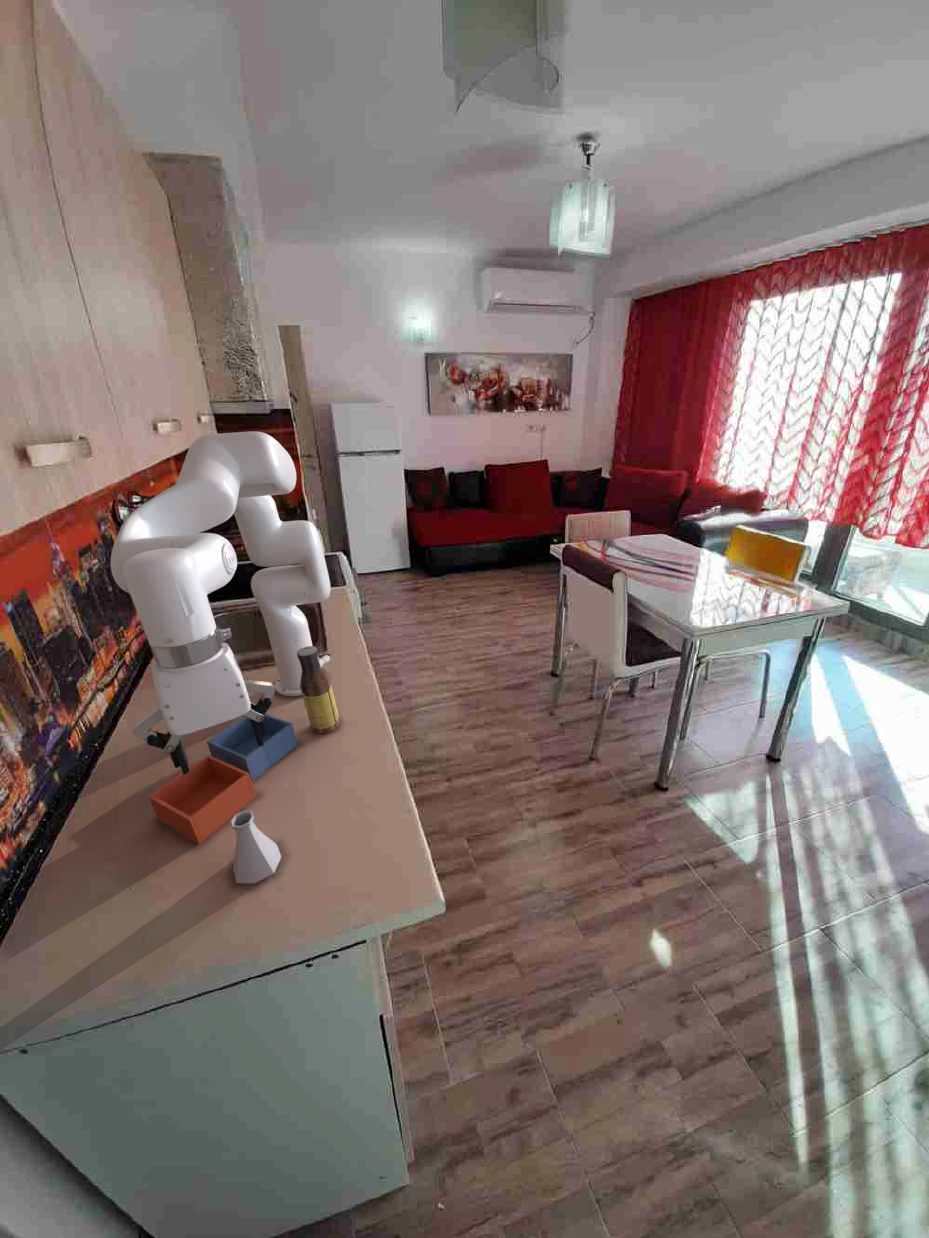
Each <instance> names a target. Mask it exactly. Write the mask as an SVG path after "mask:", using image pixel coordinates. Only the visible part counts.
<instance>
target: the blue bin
mask: <svg viewBox="0 0 929 1238" xmlns="http://www.w3.org/2000/svg"><path fill="white" fill-rule="evenodd" d="M262 721H263V725H264V728H265V732H266V735H267V736H264V737H262V740H263V744H264V745H263V746H261V747H260V746H258V743H257V740H256V737H255V734H254V730H253V727H252V724H251V720H250V718H248V717H245V716H243V717H240V719H238V720H237V721H235V722H233V723H232V724H231V725H229V726H228V727H226V728H225V729H222V731H220V732H218V733H217V734H215V735H214V736H213V737H211V738H210V739H209V740H207V741H206V745H207V747H208V750H209V752H210V756H212V757H215V758H217V759H219V760H221V761H223V762H226V763H228V764H230V765H232V766H234V767H236V768H239V769H241V770H243V771H245V772H247V773H249V774H250V777H251V780H252V782H254V780H256V779H257V778H258V777H259V776H261V775H262V774H264V773H265V772H266V771H268V769H269V768H271V767H272V766H273V765H275V764H276V763H277V762H278V761H279V760H281V759H282V758H283V757H284V756H286V755H287V754H288V753H289V752H290V751H292V750H293V749H294V748H296V747H297V746H298V744H299V743H298V741H297V737H296V733H295V729H294V725H293V723H292V722H290V721H287V720H285V719H281V718H278V717H275V716H273V715H271V714H267V713H265V715H264V719H263V720H262Z"/></svg>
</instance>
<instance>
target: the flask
mask: <svg viewBox="0 0 929 1238" xmlns="http://www.w3.org/2000/svg"><path fill="white" fill-rule="evenodd" d="M230 825H231V829H232V830H235V835H236V837H235V838H236V843H235V853H234V860H233V865H232V871H233V875H234V879H235V883H236V884H257V883H259V882H260V881H262V880H264V879H266V878H268V877H270V876H271V875H273V874H275V873H276V869H277V868H278V865H279V863H280V861H281V859H282V854H281V852H280V849H279V847H278V844H277V843H276V842H274V841H273V840H272V839H271V838H270V837H268V836H267V835H265V834H264V833H263V832H262V831H261V830H260V829H259V828H258V827H257V826H256V824H255V822H254V814H253V811H252V810H242V811H239V812H237V813H236V814H235V815H234V816H232V817H231V819H230Z"/></svg>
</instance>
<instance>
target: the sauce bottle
mask: <svg viewBox="0 0 929 1238" xmlns="http://www.w3.org/2000/svg"><path fill="white" fill-rule="evenodd" d="M297 656H298V659H299V660H300V664H301V670H302V675H301V683H300V688H301V692H302V695H301V696H302V699H303V704H304V706H305V710H306V714H307V717H308V722H309V724H310V727H311V728H312V730H313V731H314V732H315V733H318V734H327V733H328V734H329V733H330V732H332V731H334V730H335V729H337V728H338V726H339V724H340V717H339V711H338V708H337V703H336V699H335V695H334V690H333V688H332V683H331V681H330V676H329V674H328V672H327V671H326V669H324V668H323V667H322V668H321V667H320V663H319V659H320V658H319V659H318V657H319V651H318V648H317V647H316V646H313V645H312V646H307V647H304V648H301V649H299V650H298V652H297Z"/></svg>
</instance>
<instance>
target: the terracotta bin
mask: <svg viewBox="0 0 929 1238" xmlns="http://www.w3.org/2000/svg"><path fill="white" fill-rule="evenodd" d="M256 797H257V793H256V790H255V786H254V783H253V781H252V780H251V777H250V774H249V773H247V772H245V771H243V770H241V769H239V768H236V767H234V766H232V765H230V764H228V763H226V762H223V761H221V760H219V759H217V758H215V757H212V756H211V754H207V755H206V756H204V757H203V758H202V759H200V760H199V761H197V762H196V763H194V764H193V765H191V766H189V772H188V773H187V774H183V772H181V773H180V774H178V775H177V776H176V777H174V778H173V779H171V780H170V781H168V782H167V783H166V784H164V785H162V786H161V787H160V788H158V789H157V790H155V791H154V792H153V793H151V794H150V795H148V796H147V798H148V800H149V802H150V805H151V807H152V809H153V812H154V813H155V815H156V817H157V820H158V821H160V822H161V823H163V824H164V825H166V826H168V827H169V828H171V829H174V830H175V831H176V832H178V833H180V834H181V835H183V836H185V837H186V838H188V839H190V840H191V841H193V842H194V843H196V844H198V845H201V844H202V843H203V842H204V841H205V840H206V839H207V838H209V837H210V836H211V835H212V834H214V833H215V832H216V831H218V829H219V828H221V827H222V826H223V825H224V824H226V823H227V822H228V821H229V820H231V819H232V818H233V817H234V815H235V814H238V813H239V812H241V810H242V809H243V808H244V807H245V806H247V805H249V803H250V802H251V801H253V800H254V799H255V798H256Z"/></svg>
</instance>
